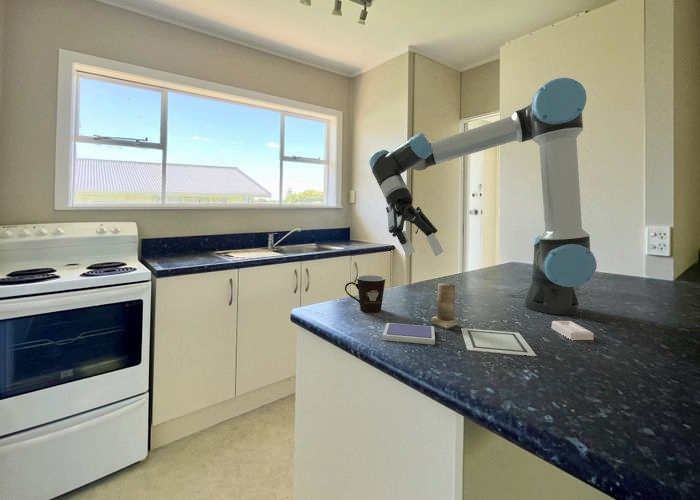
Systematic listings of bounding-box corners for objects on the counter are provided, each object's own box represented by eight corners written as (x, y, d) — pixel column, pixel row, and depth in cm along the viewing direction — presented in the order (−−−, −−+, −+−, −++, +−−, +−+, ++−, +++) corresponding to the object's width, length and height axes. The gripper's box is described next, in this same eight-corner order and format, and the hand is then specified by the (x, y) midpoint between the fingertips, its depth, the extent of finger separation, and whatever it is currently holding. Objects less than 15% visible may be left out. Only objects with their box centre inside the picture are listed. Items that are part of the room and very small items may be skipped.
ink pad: (433, 331, 87) (433, 325, 87) (434, 344, 78) (434, 338, 78) (386, 327, 90) (386, 322, 89) (382, 339, 81) (382, 334, 81)
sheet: (518, 333, 86) (519, 332, 86) (536, 356, 72) (536, 355, 72) (460, 328, 89) (461, 327, 89) (467, 350, 75) (467, 348, 75)
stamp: (431, 324, 92) (432, 284, 91) (442, 321, 95) (444, 282, 94) (446, 329, 88) (448, 288, 87) (458, 325, 91) (460, 285, 90)
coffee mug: (387, 307, 107) (388, 276, 106) (380, 315, 99) (381, 281, 98) (352, 304, 111) (353, 273, 110) (343, 311, 103) (343, 278, 102)
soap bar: (570, 329, 91) (571, 320, 90) (594, 342, 82) (595, 332, 81) (550, 328, 91) (551, 320, 90) (571, 342, 82) (572, 332, 81)
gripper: (413, 205, 116) (440, 259, 108) (360, 197, 99) (387, 260, 91) (429, 191, 111) (459, 247, 103) (376, 180, 95) (407, 246, 86)
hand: (425, 253), depth 97 cm, fingers open, 13 cm apart
